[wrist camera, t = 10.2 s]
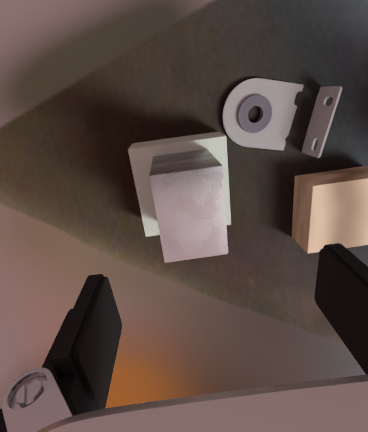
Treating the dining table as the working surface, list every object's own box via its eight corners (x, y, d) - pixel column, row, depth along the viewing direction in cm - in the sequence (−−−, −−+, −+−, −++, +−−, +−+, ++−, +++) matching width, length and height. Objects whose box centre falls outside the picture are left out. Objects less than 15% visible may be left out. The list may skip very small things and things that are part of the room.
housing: (212, 217, 27) (228, 253, 20) (164, 224, 27) (164, 262, 20) (207, 148, 24) (222, 165, 18) (153, 156, 24) (149, 175, 17)
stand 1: (217, 131, 27) (226, 136, 24) (223, 210, 31) (231, 224, 27) (132, 143, 27) (127, 149, 23) (148, 220, 31) (145, 236, 27)
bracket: (227, 74, 26) (236, 70, 22) (322, 87, 27) (343, 86, 23) (216, 142, 28) (222, 148, 25) (303, 152, 29) (320, 158, 26)
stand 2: (363, 166, 30) (390, 175, 26) (353, 227, 33) (376, 243, 29) (294, 175, 30) (313, 185, 26) (291, 236, 33) (307, 253, 29)
